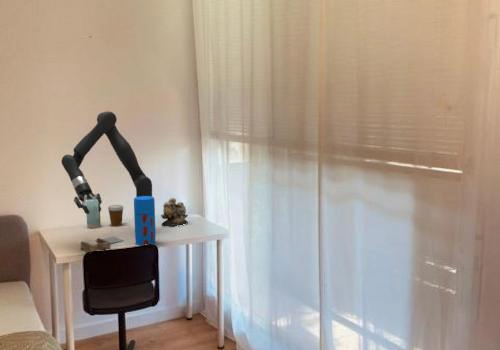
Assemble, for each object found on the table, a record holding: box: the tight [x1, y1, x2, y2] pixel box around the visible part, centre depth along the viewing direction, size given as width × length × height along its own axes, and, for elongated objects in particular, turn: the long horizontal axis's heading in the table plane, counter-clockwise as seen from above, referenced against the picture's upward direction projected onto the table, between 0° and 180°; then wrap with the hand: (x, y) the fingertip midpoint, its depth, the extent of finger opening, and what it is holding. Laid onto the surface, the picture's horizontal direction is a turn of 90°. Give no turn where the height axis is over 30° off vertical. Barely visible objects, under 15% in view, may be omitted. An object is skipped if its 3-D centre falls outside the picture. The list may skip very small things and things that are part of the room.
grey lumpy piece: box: [160, 197, 189, 227], centre depth 302 cm, size 18×12×17 cm, turn 127°
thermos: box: [133, 195, 157, 246], centre depth 260 cm, size 11×11×25 cm
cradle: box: [80, 237, 111, 253], centre depth 250 cm, size 10×11×4 cm
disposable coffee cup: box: [107, 204, 124, 227], centre depth 301 cm, size 10×10×12 cm
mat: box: [95, 236, 125, 245], centre depth 265 cm, size 11×11×1 cm
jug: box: [85, 199, 99, 225], centre depth 248 cm, size 6×8×12 cm
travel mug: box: [86, 197, 102, 229], centre depth 296 cm, size 8×8×18 cm
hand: (93, 212), depth 247 cm, fingers closed on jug, 6 cm apart
